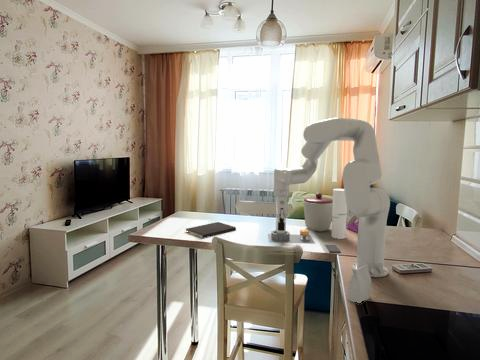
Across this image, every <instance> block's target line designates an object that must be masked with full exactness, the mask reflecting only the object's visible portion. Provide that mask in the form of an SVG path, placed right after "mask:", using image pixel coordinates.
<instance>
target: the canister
mask: <svg viewBox="0 0 480 360" xmlns="http://www.w3.org/2000/svg"><path fill="white" fill-rule="evenodd" d="M302 203H303V212H304V214H303V215H304V222H305V223H304V224H305V227H306V229H307V230H312V231H314V232H326V231H329V230H330V228H331V227H332V208H333V198H329V197H325V196H324V197H323V194H322V193H321V192H317V193H315V196H309V197H305V198H304V199H302Z"/></svg>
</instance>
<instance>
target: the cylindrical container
mask: <svg viewBox="0 0 480 360" xmlns="http://www.w3.org/2000/svg"><path fill="white" fill-rule="evenodd" d="M332 190H333V191H332V200H333V208H332V220H331V235H330V236H332V237H331V238H333V239H336V238H337V239H339V240H342V239H344V240H345V239H346V237H347V236H346V235H347V228H346V219H347V203H346V197H345V191H344V188H333V189H332Z"/></svg>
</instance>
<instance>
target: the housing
mask: <svg viewBox="0 0 480 360" xmlns="http://www.w3.org/2000/svg"><path fill="white" fill-rule="evenodd" d="M267 239H268V243H280V244H281V243H282V244H283V243H284V244H286V243H287V244H316V242H315V240H314V239H313V238H312V236H311V234H309V236H306V239H303V236H301V235H300V234H290V231H288V230H286V234H276V229H274V230H272V231H271V233H268V234H267Z"/></svg>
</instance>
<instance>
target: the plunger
mask: <svg viewBox="0 0 480 360" xmlns="http://www.w3.org/2000/svg"><path fill="white" fill-rule="evenodd" d="M299 235H301V236H303V238H302V240H307V238H306V236H309V235H310V230H309V229H300V230H299Z"/></svg>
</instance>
